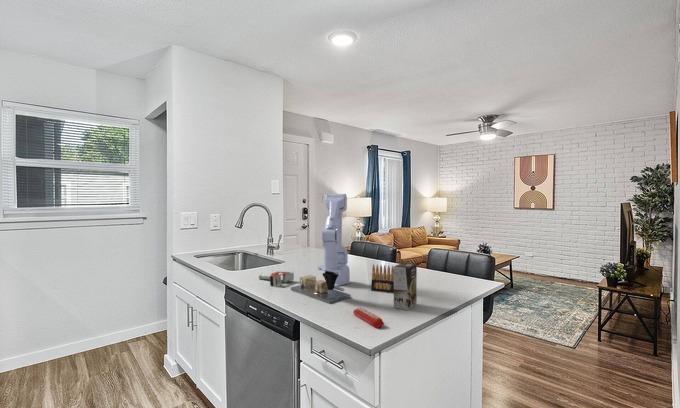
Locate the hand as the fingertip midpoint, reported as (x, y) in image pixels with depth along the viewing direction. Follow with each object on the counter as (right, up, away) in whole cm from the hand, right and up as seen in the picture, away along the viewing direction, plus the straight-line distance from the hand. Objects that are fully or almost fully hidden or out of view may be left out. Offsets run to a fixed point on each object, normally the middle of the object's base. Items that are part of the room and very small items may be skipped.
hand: (330, 289), depth 142 cm
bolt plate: (-5, -3, +6) cm, 9 cm away
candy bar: (+13, -5, -26) cm, 30 cm away
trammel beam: (-5, -2, +7) cm, 8 cm away
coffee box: (+29, -4, -11) cm, 32 cm away
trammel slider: (-4, -2, +5) cm, 7 cm away
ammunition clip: (+23, -3, +9) cm, 25 cm away
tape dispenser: (-28, -4, +27) cm, 39 cm away
